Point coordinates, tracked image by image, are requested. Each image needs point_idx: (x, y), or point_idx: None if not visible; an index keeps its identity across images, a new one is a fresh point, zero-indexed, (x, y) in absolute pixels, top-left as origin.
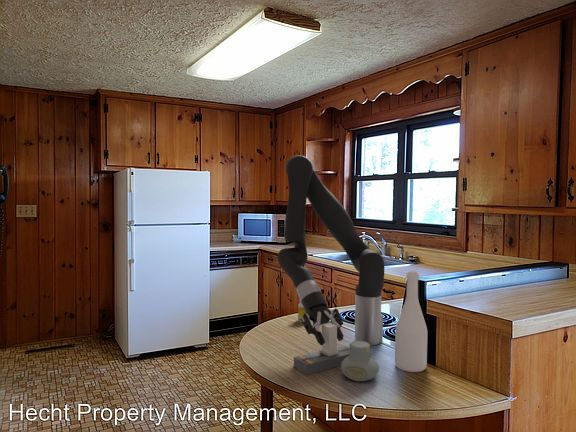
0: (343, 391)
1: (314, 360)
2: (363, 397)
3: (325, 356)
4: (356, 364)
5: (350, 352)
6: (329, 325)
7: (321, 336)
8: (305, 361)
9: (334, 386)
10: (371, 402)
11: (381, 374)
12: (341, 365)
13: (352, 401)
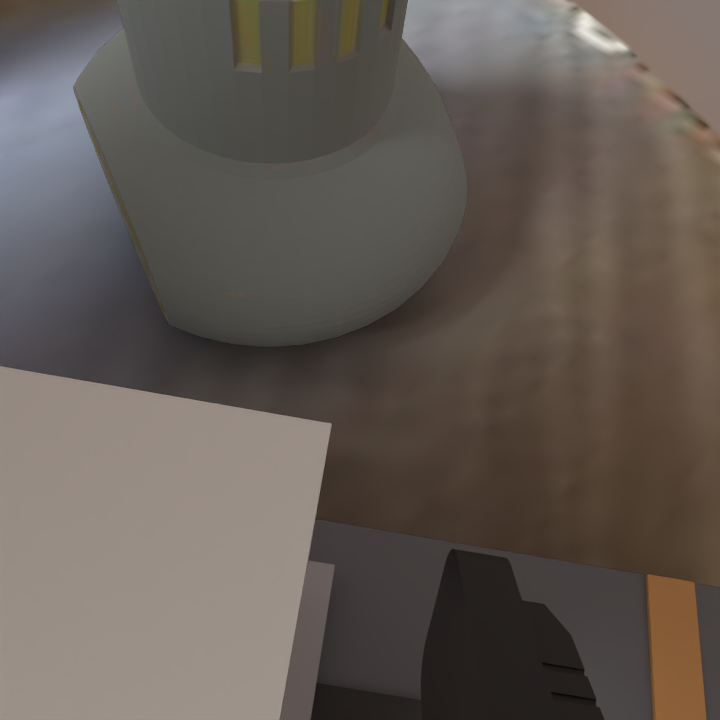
0: (574, 175)
1: (577, 641)
2: (513, 59)
3: (334, 646)
4: (410, 51)
5: (391, 51)
6: (79, 635)
7: (515, 655)
8: (717, 708)
9: (582, 262)
10: (517, 8)
11: (73, 144)
12: (435, 253)
13: (612, 75)
